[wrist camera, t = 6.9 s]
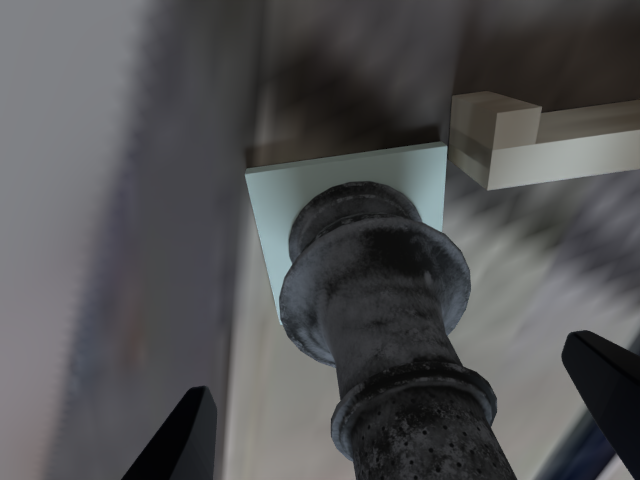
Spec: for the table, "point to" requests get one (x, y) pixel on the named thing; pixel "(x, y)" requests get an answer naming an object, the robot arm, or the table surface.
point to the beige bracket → (540, 140)
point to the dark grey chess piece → (390, 336)
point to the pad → (323, 173)
